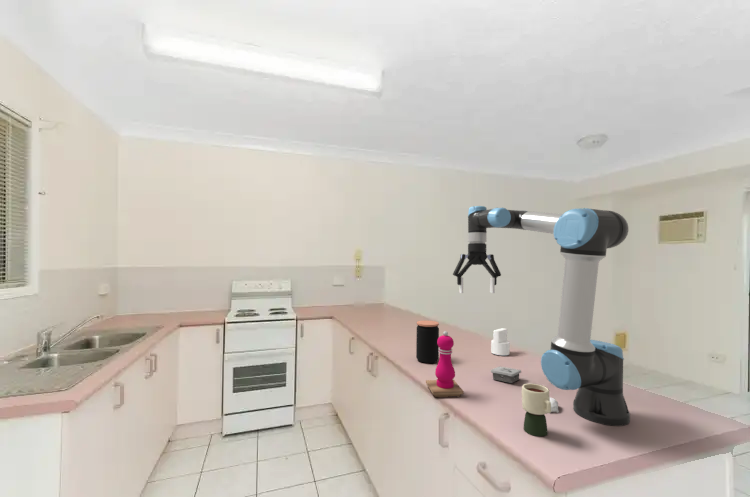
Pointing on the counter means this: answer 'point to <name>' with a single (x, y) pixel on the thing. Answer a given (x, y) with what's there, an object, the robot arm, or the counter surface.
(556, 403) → the garlic
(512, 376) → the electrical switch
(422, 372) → the counter surface
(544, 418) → the character mug
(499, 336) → the cylinder with rectangular tab
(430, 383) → the walnut stand
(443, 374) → the pepper mill
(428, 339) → the coffee jar
